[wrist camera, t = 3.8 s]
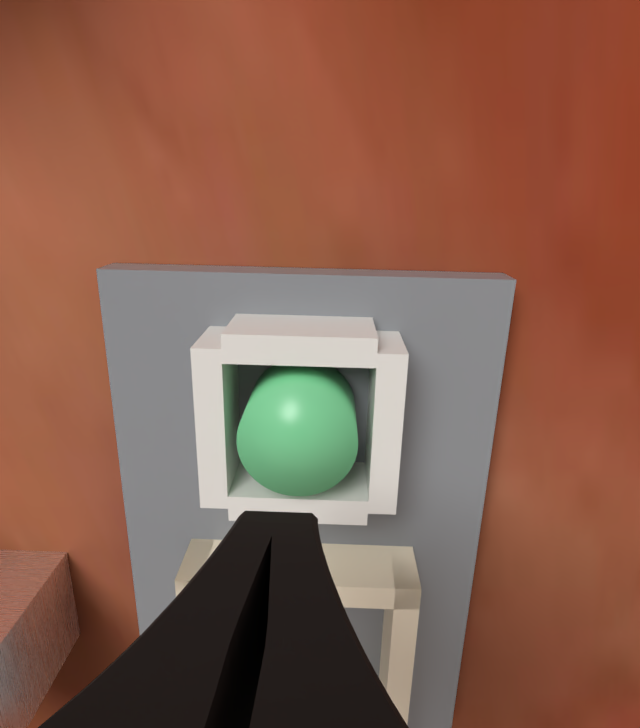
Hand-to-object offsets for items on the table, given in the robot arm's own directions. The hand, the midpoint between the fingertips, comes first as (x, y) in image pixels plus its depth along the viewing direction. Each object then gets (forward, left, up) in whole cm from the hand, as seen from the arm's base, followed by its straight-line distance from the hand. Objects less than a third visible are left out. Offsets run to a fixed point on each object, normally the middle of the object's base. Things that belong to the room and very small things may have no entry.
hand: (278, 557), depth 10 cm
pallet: (0, -5, -8) cm, 10 cm away
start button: (0, 0, -7) cm, 7 cm away
